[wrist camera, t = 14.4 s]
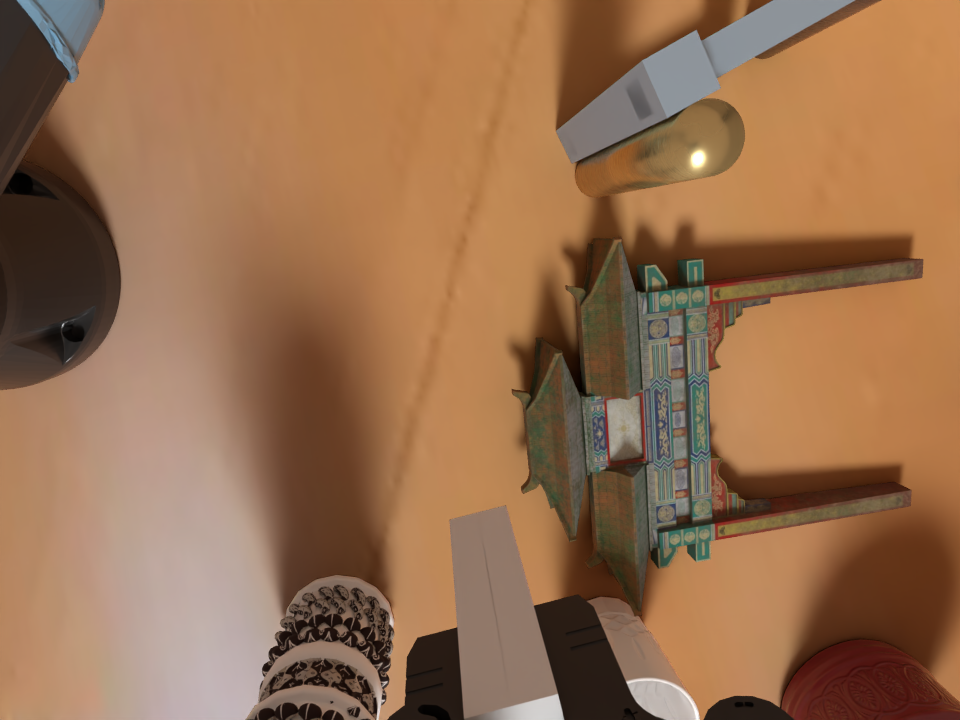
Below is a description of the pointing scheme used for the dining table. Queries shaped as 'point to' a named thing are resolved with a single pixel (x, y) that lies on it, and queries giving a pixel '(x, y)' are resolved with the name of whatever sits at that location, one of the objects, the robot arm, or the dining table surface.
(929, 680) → the canister
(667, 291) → the miniature gate
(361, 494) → the dining table surface
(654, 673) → the white cup
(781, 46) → the hinge post
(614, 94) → the grey rectangular frame
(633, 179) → the latch post
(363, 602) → the decorative candle
